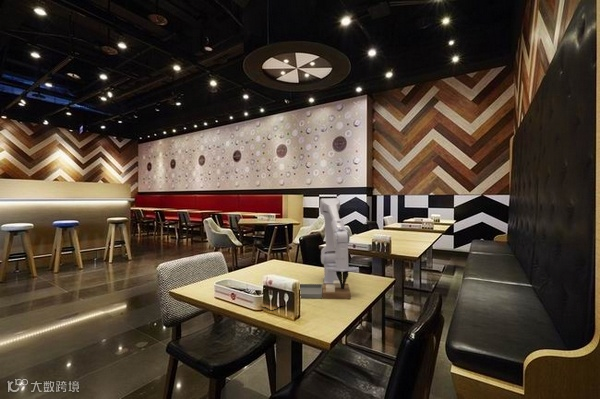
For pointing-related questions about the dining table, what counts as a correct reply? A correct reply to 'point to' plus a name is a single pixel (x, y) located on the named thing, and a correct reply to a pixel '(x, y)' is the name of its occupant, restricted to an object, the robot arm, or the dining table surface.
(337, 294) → the plate
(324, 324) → the dining table surface
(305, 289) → the tray
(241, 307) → the dining table surface
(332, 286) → the tile
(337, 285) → the tile
